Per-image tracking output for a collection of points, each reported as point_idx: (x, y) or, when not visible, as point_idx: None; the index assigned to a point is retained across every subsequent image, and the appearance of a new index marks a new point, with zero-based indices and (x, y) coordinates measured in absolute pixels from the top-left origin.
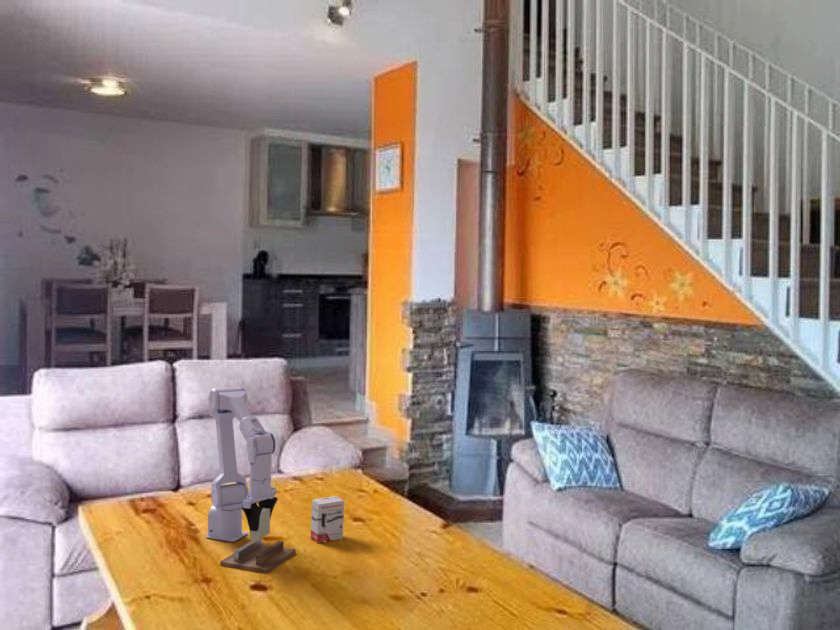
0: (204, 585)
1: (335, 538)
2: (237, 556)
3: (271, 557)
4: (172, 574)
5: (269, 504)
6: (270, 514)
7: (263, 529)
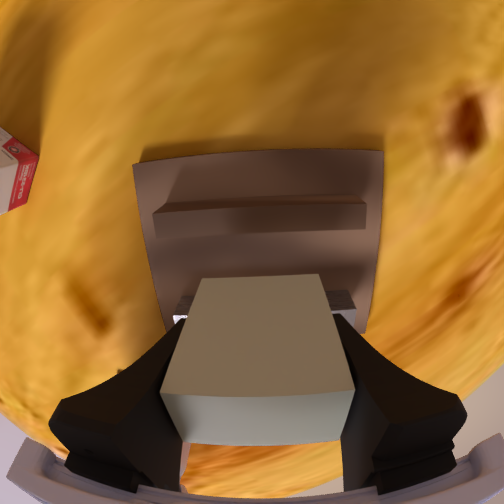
0: (484, 274)
1: (2, 131)
2: (352, 302)
3: (267, 197)
4: (432, 369)
5: (149, 423)
6: (164, 352)
7: (274, 300)
